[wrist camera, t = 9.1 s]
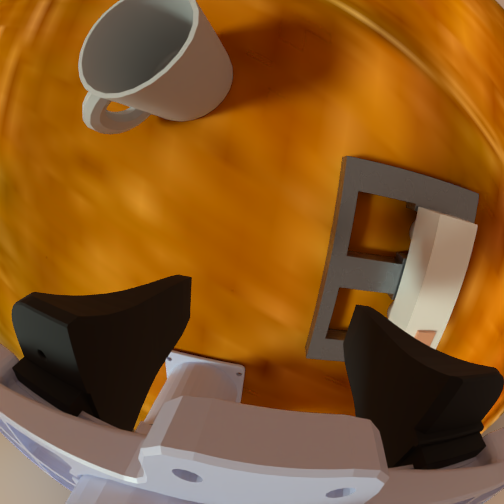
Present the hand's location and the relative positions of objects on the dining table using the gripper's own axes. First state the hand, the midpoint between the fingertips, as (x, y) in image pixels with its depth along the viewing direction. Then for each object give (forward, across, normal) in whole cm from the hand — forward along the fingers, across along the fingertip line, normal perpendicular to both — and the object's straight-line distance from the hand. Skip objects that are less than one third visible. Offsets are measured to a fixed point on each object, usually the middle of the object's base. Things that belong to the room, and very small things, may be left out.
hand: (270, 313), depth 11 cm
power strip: (+10, -11, 0) cm, 15 cm away
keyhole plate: (+10, -10, 0) cm, 14 cm away
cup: (+10, +10, -11) cm, 18 cm away
